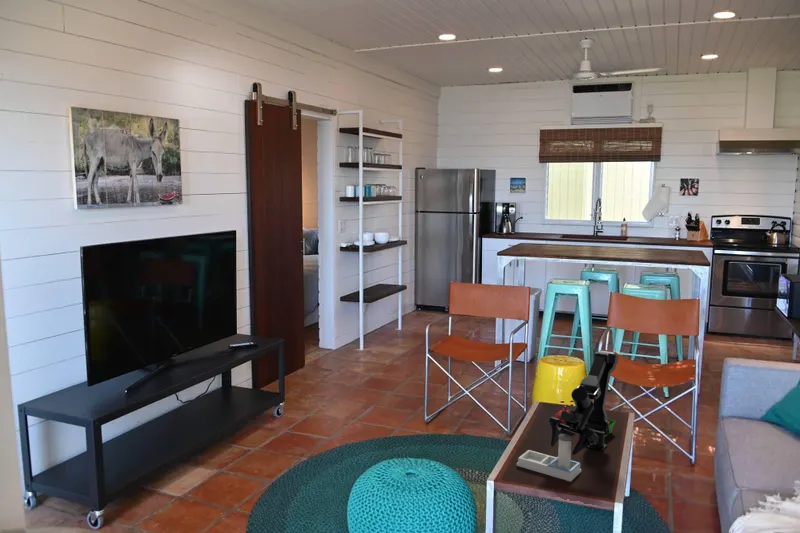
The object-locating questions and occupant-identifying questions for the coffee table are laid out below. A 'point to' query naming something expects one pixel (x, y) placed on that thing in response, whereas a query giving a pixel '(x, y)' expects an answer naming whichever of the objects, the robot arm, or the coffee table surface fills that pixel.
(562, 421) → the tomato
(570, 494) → the coffee table surface
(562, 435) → the plug post
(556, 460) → the compartment tray
